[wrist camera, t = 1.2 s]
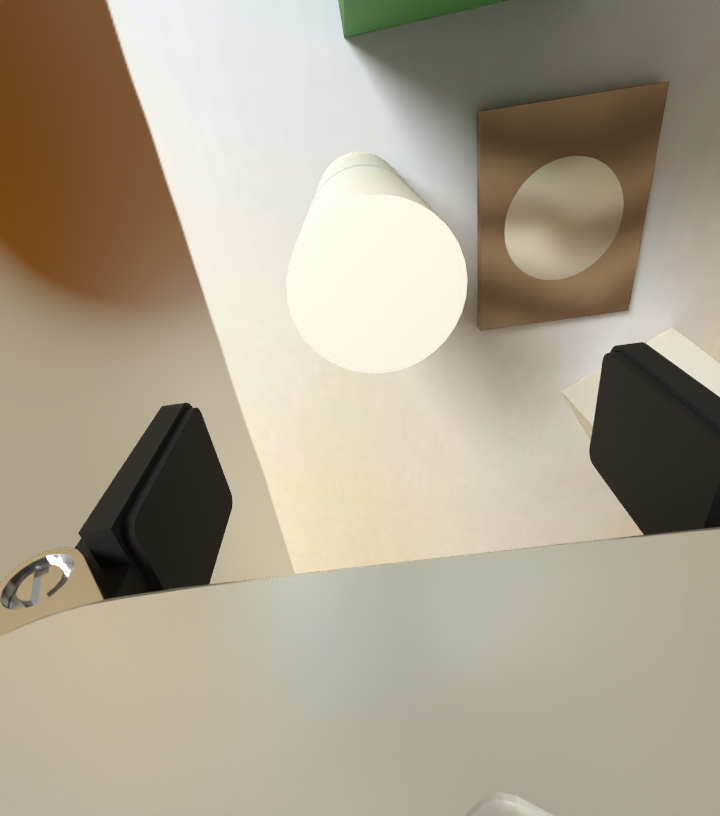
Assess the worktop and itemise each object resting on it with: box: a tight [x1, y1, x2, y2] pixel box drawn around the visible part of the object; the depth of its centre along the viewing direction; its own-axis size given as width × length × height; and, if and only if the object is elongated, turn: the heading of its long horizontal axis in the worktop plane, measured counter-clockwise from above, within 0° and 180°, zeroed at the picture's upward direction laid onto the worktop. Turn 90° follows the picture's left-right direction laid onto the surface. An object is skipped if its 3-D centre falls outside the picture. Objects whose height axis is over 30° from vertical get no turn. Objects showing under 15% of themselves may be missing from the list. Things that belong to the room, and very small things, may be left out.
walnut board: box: [477, 82, 669, 330], centre depth 40 cm, size 18×14×1 cm
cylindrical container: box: [286, 152, 468, 373], centre depth 29 cm, size 7×7×25 cm
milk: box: [561, 328, 720, 440], centre depth 40 cm, size 12×12×26 cm
